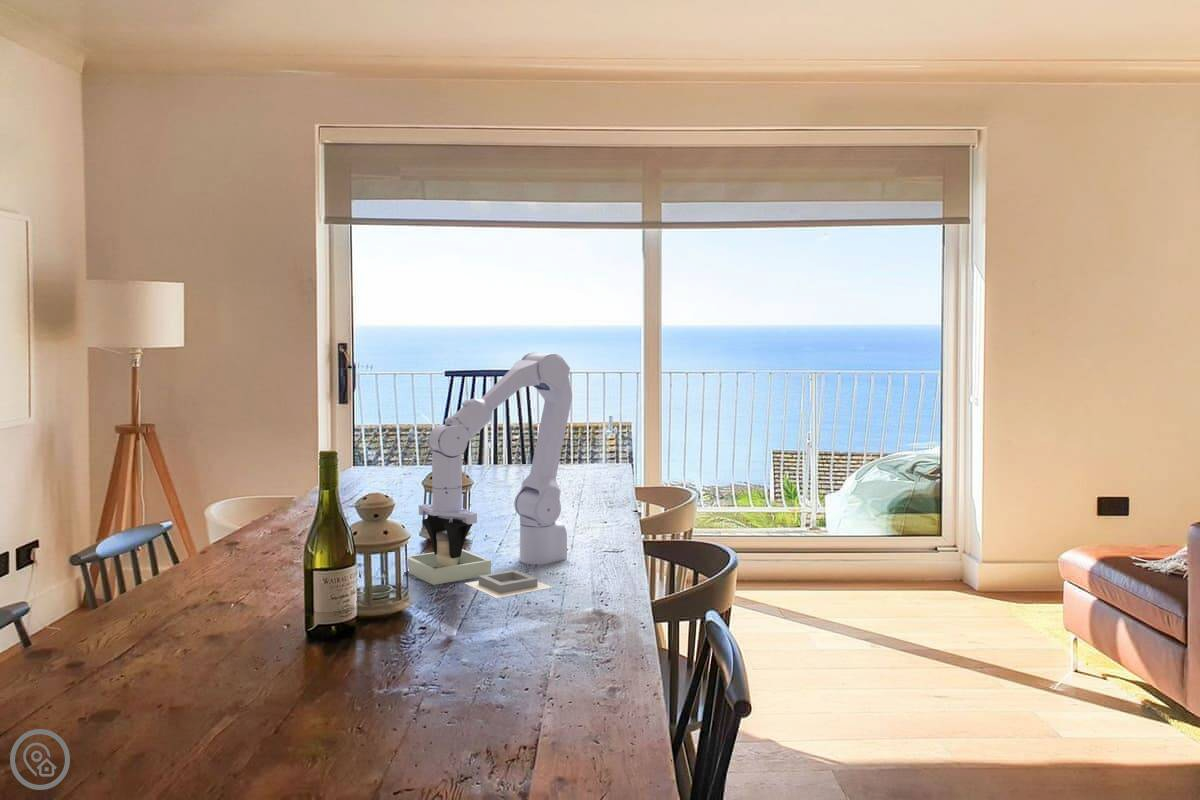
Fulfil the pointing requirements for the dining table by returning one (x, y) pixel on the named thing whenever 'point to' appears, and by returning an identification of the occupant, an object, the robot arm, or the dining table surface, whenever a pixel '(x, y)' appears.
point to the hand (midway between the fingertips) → (447, 555)
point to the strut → (444, 551)
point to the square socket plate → (507, 583)
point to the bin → (448, 568)
